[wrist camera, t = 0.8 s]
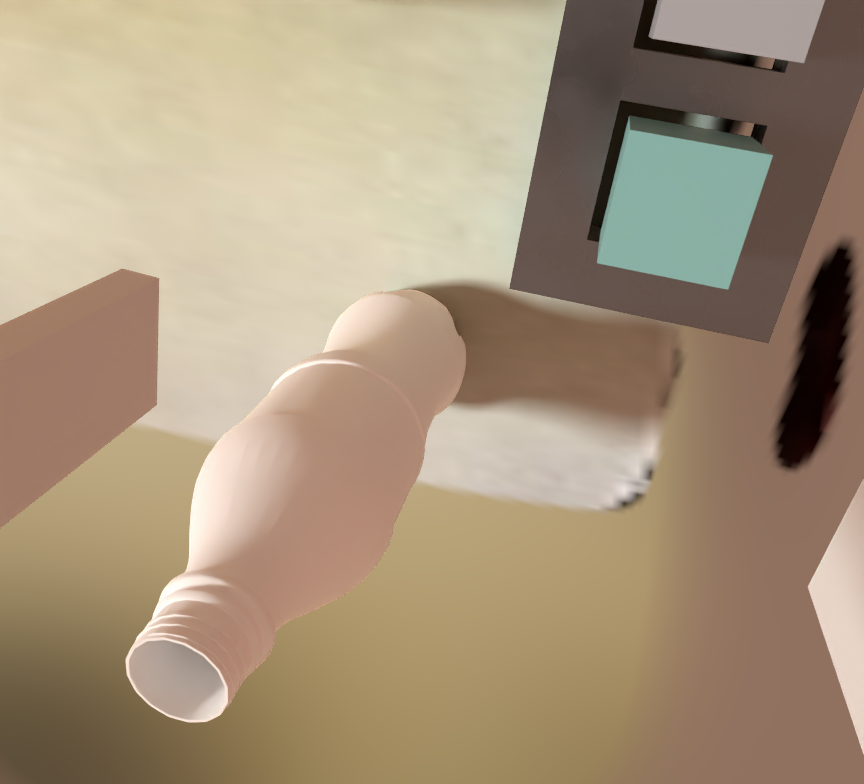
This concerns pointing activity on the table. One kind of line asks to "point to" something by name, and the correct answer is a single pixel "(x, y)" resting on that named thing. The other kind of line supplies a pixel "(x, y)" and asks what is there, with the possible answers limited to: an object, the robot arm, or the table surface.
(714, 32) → the grey cube
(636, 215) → the teal cube
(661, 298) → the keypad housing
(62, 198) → the table surface
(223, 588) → the water bottle
